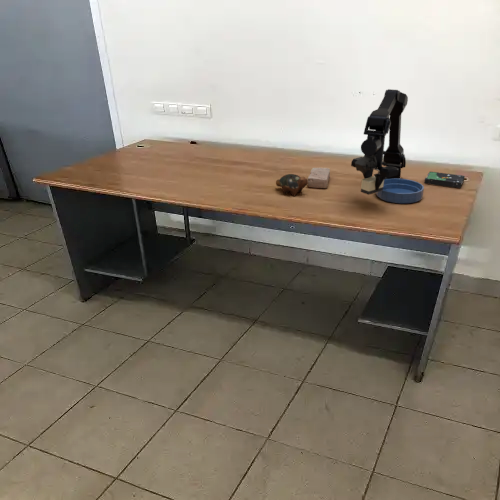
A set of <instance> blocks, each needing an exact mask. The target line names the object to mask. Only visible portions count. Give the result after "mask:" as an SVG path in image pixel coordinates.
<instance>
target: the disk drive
mask: <svg viewBox="0 0 500 500" xmlns="http://www.w3.org/2000/svg"><path fill="white" fill-rule="evenodd" d="M465 177H466V176H465V175H461V174H452V173H446V172H439V171H429V172H428V173H427V174H426V177H425V178H424V184H427V185H433V186H439V187H440V186H441V187H447V188H452V189H453V188H454V189H455V188H456V189H461V187H462V186H463V183H464V181H465Z"/></svg>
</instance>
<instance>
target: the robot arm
mask: <svg viewBox="0 0 500 500" xmlns="http://www.w3.org/2000/svg"><path fill="white" fill-rule="evenodd" d="M408 97H409V96H408V95H407V94H406V93H404V92H401V91H400V90H398V89H390V88H388V89H386V90H385V91H384V95H383V98H382V100H381V102H380V103H379V105H378V107H377V109H375V110H373V111H371V113H370V114H369V116H368V117H367V118H366V123H365V127H364V131H363V135H366V139H365V140H364V141H362V143H361V144H360V151H361V153H362V154H363V156H359V157H354V158H353V159H352V160H351V161H350V162H351V163H350V167H353V168H355V170H356V171H357V172H361V174H362V175H363V179H365V178H369V177H372V176H375V177H376V181H375V190H378V189H379V187H380V185H381V184H382V182H383V180H385V179H392V178H399V179H402V177H401V176H402V175H401V173H402V169H404V168H406V166H407V160H406V155H405V153H404V147H403V146H402V145H401V130H402V114H403V112H404V111H405V110H406V107H407V105H408V101H409V98H408ZM387 134H388V146H387V147H386V150H385V140H386V136H387ZM374 170H375V171H377V172H376V173H374Z"/></svg>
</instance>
